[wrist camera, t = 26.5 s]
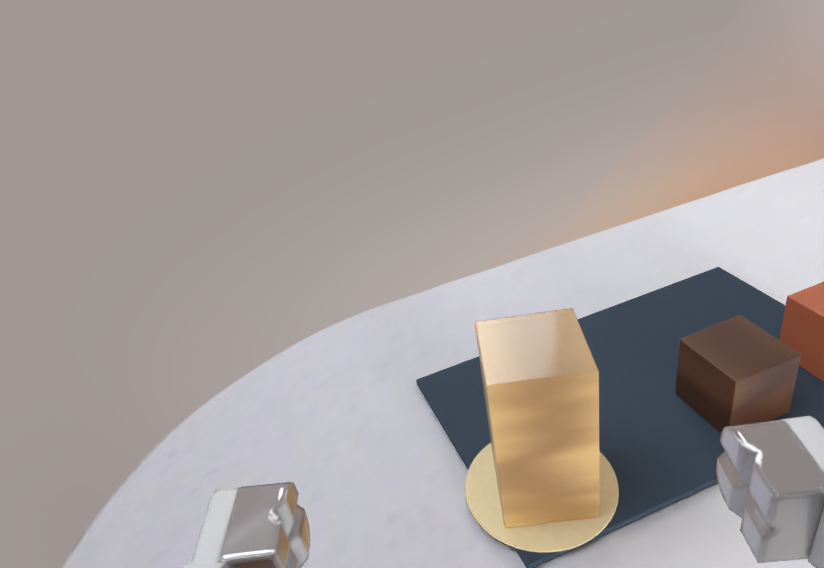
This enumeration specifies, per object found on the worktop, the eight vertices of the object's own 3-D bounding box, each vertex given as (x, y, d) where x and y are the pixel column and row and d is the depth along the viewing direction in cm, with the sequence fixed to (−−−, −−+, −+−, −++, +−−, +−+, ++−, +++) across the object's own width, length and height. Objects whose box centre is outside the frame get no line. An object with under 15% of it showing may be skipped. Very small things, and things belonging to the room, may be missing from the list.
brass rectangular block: (504, 528, 33) (485, 386, 28) (492, 456, 37) (474, 321, 32) (600, 517, 33) (599, 371, 28) (577, 445, 37) (572, 307, 32)
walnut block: (727, 440, 36) (736, 382, 33) (674, 394, 39) (679, 338, 37) (789, 412, 37) (802, 354, 34) (732, 369, 40) (740, 314, 38)
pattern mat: (508, 583, 31) (507, 577, 31) (401, 389, 44) (400, 384, 44) (923, 391, 37) (925, 385, 37) (718, 270, 50) (718, 265, 50)
